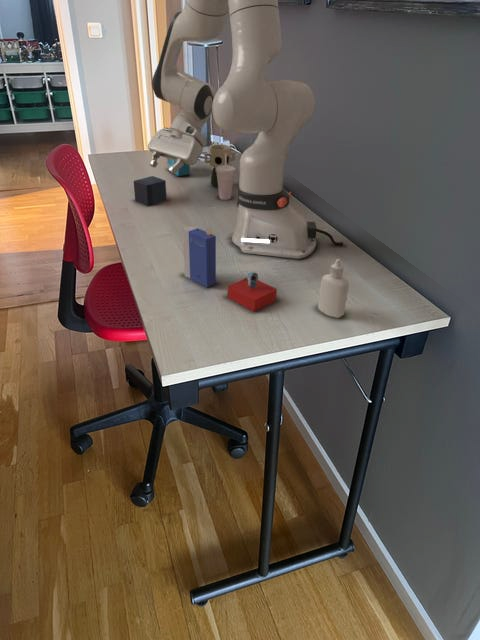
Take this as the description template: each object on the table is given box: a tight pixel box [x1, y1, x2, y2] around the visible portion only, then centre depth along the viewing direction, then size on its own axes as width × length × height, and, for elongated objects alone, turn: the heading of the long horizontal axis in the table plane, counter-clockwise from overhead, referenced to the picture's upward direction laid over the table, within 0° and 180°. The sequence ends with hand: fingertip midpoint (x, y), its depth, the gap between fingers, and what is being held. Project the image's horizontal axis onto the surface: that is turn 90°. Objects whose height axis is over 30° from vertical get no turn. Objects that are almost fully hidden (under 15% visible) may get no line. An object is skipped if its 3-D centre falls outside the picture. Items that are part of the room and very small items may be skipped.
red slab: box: [227, 272, 278, 312], centre depth 107 cm, size 8×7×6 cm
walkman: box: [182, 225, 217, 288], centre depth 112 cm, size 8×3×12 cm, turn 45°
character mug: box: [203, 143, 236, 187], centre depth 170 cm, size 11×7×13 cm, turn 111°
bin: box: [133, 175, 168, 207], centre depth 158 cm, size 8×6×6 cm
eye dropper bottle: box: [317, 258, 350, 319], centre depth 101 cm, size 4×6×12 cm
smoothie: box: [215, 153, 236, 201], centre depth 159 cm, size 6×6×14 cm
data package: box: [166, 158, 191, 177], centre depth 182 cm, size 12×4×12 cm, turn 26°
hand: (161, 169), depth 158 cm, fingers open, 8 cm apart
